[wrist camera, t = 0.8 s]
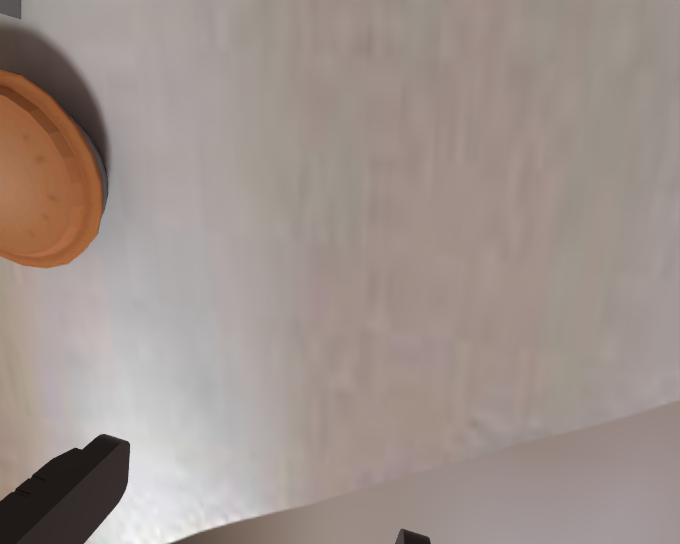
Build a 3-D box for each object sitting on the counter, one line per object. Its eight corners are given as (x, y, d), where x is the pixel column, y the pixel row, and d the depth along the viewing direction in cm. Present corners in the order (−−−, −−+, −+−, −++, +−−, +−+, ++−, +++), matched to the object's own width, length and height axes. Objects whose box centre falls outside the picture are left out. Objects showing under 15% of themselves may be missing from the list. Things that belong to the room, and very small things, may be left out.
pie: (159, 238, 33) (120, 255, 28) (25, 267, 36) (-29, 287, 32) (80, 46, 28) (18, 30, 23) (-66, 100, 31) (-146, 95, 27)
